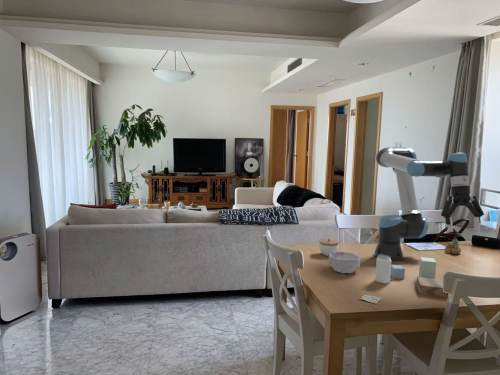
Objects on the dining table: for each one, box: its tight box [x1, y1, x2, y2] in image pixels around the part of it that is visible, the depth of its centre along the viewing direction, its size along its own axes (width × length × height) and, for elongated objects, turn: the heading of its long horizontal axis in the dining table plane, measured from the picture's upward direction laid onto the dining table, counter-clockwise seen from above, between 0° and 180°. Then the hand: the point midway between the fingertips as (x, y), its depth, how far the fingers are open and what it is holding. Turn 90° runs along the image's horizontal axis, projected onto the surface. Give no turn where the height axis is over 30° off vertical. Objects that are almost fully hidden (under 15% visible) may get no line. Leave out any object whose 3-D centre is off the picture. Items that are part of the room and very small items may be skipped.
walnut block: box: [415, 276, 450, 298], centre depth 161 cm, size 11×11×4 cm
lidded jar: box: [318, 238, 339, 256], centre depth 212 cm, size 11×11×9 cm
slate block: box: [390, 264, 406, 280], centre depth 178 cm, size 5×5×5 cm
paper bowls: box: [328, 251, 361, 274], centre depth 185 cm, size 15×15×8 cm
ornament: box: [444, 236, 462, 255], centre depth 219 cm, size 8×6×10 cm
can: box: [374, 255, 392, 285], centre depth 171 cm, size 6×6×12 cm
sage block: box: [418, 256, 437, 279], centre depth 174 cm, size 6×6×10 cm
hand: (464, 231), depth 171 cm, fingers open, 13 cm apart
